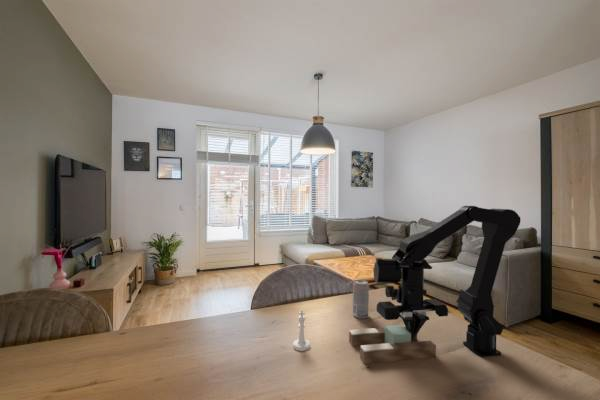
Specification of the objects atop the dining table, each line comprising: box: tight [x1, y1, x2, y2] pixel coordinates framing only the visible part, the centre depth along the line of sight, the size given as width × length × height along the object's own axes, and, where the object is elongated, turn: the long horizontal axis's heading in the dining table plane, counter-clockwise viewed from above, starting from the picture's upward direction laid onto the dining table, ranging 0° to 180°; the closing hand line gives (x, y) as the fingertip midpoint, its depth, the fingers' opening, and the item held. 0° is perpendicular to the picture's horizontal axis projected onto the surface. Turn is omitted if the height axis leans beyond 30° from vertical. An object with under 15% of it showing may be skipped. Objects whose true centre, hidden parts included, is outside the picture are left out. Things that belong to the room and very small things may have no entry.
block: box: [384, 324, 412, 344], centre depth 74 cm, size 5×5×5 cm
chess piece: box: [292, 309, 311, 352], centre depth 74 cm, size 5×5×10 cm
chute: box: [348, 326, 437, 365], centre depth 73 cm, size 20×11×3 cm, turn 100°
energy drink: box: [352, 279, 370, 320], centre depth 94 cm, size 5×5×12 cm
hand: (411, 339), depth 74 cm, fingers closed
